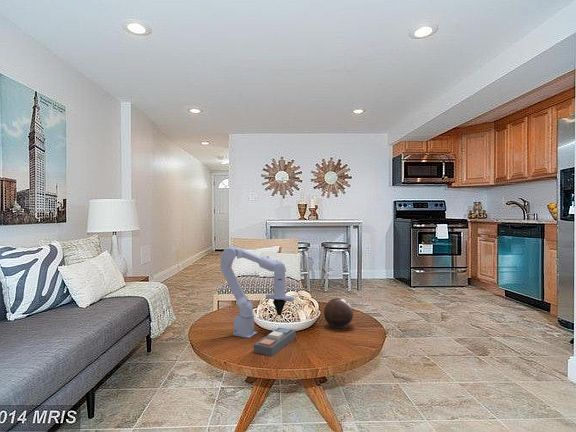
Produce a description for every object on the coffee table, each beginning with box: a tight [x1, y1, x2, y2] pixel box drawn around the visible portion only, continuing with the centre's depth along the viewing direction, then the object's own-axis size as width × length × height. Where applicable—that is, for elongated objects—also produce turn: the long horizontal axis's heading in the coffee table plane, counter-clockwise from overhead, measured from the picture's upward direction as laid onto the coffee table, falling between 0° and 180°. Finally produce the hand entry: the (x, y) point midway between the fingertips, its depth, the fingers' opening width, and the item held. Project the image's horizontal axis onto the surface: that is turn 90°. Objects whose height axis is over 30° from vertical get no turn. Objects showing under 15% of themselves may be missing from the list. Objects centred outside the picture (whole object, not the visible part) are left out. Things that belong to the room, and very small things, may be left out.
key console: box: [253, 327, 297, 357], centre depth 156 cm, size 9×24×4 cm, turn 154°
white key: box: [267, 330, 283, 340], centre depth 156 cm, size 5×5×2 cm
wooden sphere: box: [323, 297, 354, 329], centre depth 180 cm, size 15×15×15 cm
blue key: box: [277, 327, 292, 334], centre depth 164 cm, size 5×5×2 cm
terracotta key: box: [259, 339, 275, 346], centre depth 149 cm, size 5×5×2 cm
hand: (279, 314), depth 170 cm, fingers closed
